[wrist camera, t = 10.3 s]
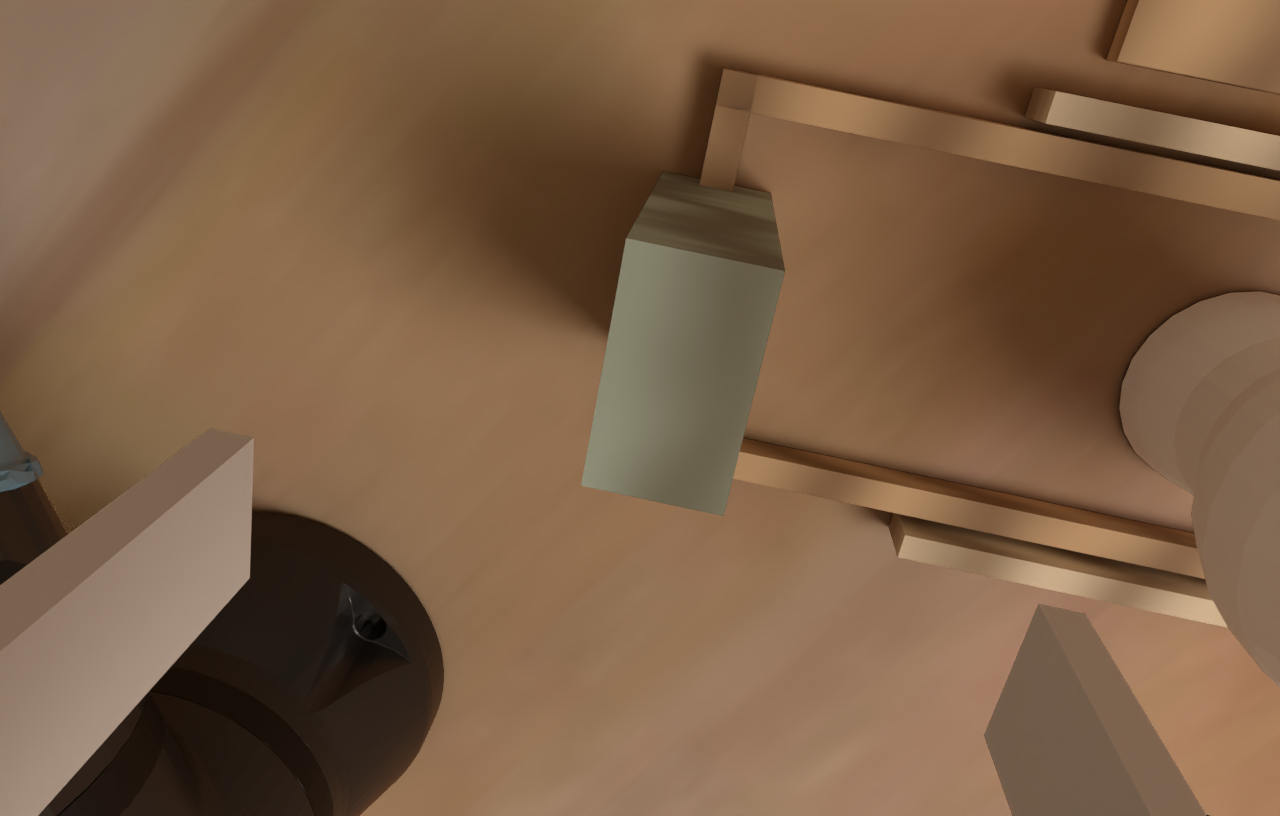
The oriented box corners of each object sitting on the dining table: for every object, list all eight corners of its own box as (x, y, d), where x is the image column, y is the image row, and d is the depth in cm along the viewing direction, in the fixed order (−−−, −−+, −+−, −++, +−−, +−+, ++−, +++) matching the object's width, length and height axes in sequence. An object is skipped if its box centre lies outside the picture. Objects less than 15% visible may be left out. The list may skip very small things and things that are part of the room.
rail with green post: (612, 437, 38) (560, 602, 27) (684, 59, 33) (655, 73, 22) (1277, 578, 38) (1498, 806, 27) (1468, 217, 32) (1849, 316, 21)
